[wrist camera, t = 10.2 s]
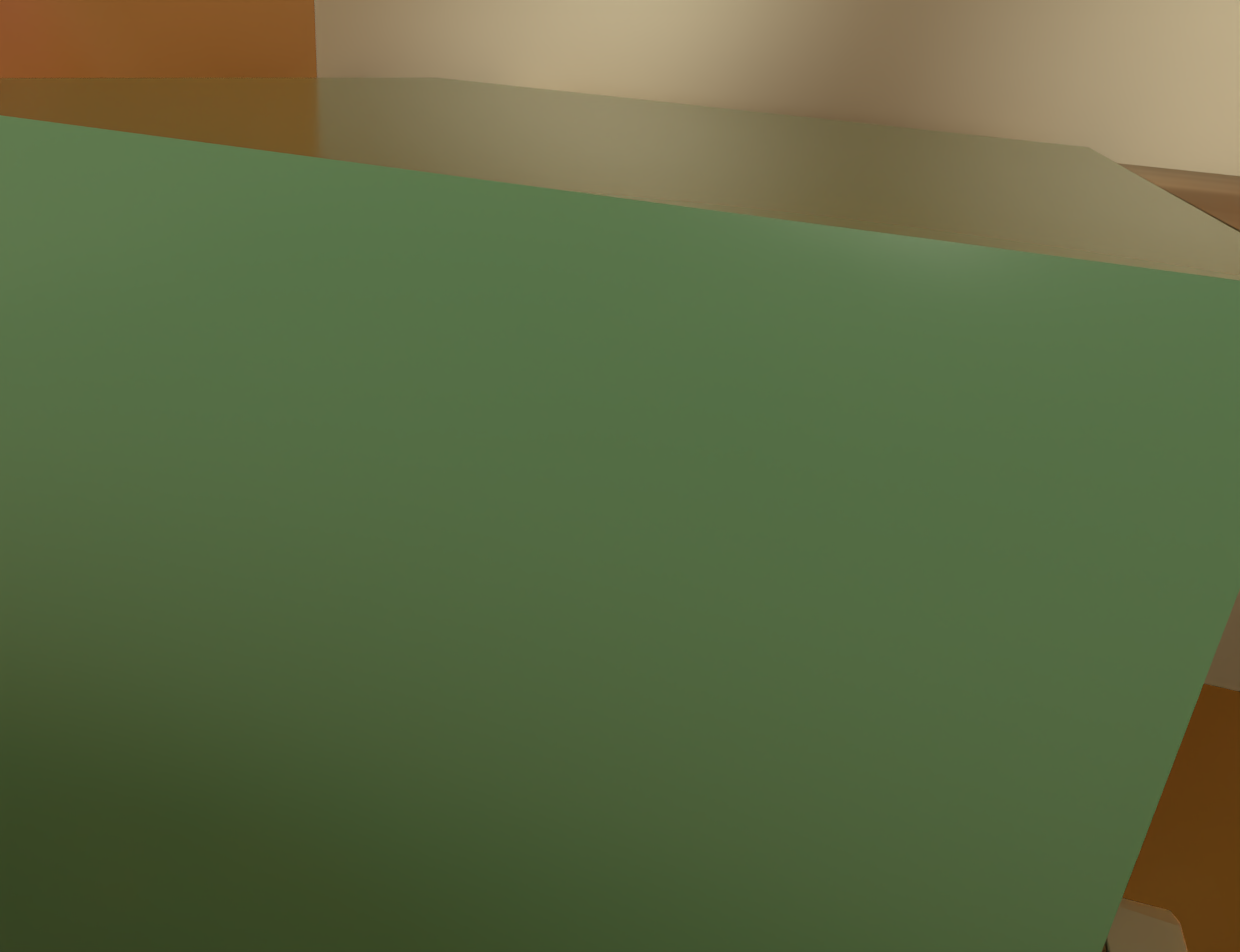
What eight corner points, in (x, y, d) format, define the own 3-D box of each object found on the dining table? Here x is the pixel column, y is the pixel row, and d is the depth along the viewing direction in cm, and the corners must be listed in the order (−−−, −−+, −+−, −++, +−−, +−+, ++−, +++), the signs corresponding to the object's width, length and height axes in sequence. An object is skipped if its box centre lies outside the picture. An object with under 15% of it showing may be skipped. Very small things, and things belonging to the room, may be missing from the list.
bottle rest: (1375, -30, 9) (1988, -190, 4) (1008, 1046, 14) (1036, 1609, 9) (350, -89, 12) (-174, -234, 6) (371, 844, 17) (104, 1192, 12)
